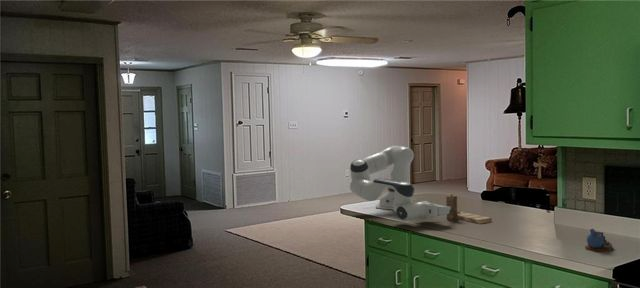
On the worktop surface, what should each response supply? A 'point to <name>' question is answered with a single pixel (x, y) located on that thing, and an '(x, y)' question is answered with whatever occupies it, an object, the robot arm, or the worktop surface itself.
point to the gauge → (452, 207)
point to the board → (473, 218)
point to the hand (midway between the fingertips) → (443, 206)
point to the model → (598, 242)
